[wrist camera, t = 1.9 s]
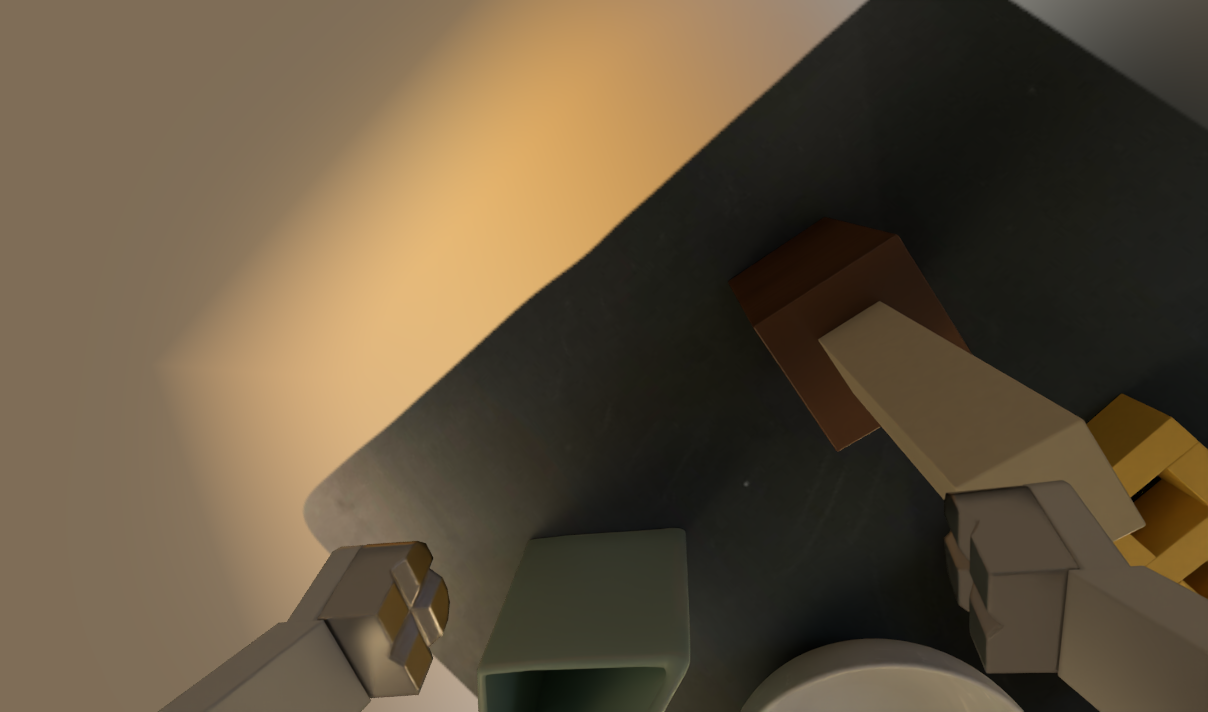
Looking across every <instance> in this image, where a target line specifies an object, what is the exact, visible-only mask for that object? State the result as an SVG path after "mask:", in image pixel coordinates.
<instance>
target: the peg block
mask: <svg viewBox="0 0 1208 712" xmlns="http://www.w3.org/2000/svg"><path fill="white" fill-rule="evenodd" d="M1086 425H1087V427H1088V428H1089V430H1090V432H1091V433H1092V435H1093V437H1094V438H1095V440H1096V442H1097V443H1098V445H1099V447H1100V448H1101V450H1102V452H1103V453H1104V455H1105V456H1106V458H1107V460H1108V461H1109V463H1110V465H1111V466H1112V468H1113V470H1114V471H1115V473H1116V475H1117V476H1118V478H1119V480H1120V481H1121V483H1122V485H1123V486H1124V488H1125V490H1126V491H1127V493H1128V495H1129V496H1130V497H1132V496H1133V495H1134V494H1135V493H1137V492H1138V491H1139V490H1140V489H1141V488H1143V487H1144V486H1145V485H1146V484H1147V483H1149V482H1150V481H1151V480H1152V479H1153V478H1155V477H1156V476H1157V475H1158V476H1159V477H1160V478H1161V480H1160V481H1159V482H1158V483H1156V484H1155V485H1154V486H1153V487H1152V488H1150V489H1149V490H1148V491H1147V492H1146V493H1144V494H1143V495H1142V496H1141V497H1139V498H1138V499H1137V500H1136V501H1135V502H1133V503H1134V505H1135V506H1136V508H1137V510H1138V511H1139V513H1140V515H1141V516H1142V518H1143V520H1144V521H1145V523H1146V525H1145V526H1144V527H1142V528H1140V529H1138V530H1136V531H1134V532H1132V533H1130V534H1128V535H1126V536H1124V537H1122V538H1120V539H1118V540H1116V541H1114V542H1113V543H1114V544H1115V546H1116V547H1117V548H1118V550H1119V551H1120V553H1121V554H1122V555H1123V557H1124V558H1125V559H1126V561H1127V562H1128V563H1129V565H1130V566H1145V567H1147V568H1149V569H1151V570H1153V571H1155V572H1157V573H1159V574H1161V575H1163V576H1164V577H1166V578H1168V579H1170V580H1172V581H1174V582H1176V583H1178V584H1180V585H1182V586H1184V587H1186V588H1187V589H1189V590H1191V591H1193V592H1195V593H1197V594H1199V595H1201V596H1203V597H1205V598H1207V599H1208V449H1207V448H1205V447H1204V446H1203V445H1202V444H1201V443H1200V442H1199V441H1198V440H1197V439H1196V438H1195V437H1193V436H1192V435H1191V434H1190V433H1189V432H1188V431H1187V430H1186V429H1185V428H1183V427H1182V426H1181V425H1180V424H1179V423H1178V422H1177V421H1176V420H1175V419H1173V418H1172V417H1170V416H1168V415H1166V414H1164V413H1162V412H1160V411H1158V410H1156V409H1154V408H1152V407H1149V406H1147V405H1145V404H1143V403H1141V402H1139V401H1137V400H1135V399H1133V398H1130V397H1128V396H1126V395H1124V394H1120V395H1119V396H1118V397H1117V398H1116V399H1114V400H1113V401H1112V402H1111V403H1110V404H1109V405H1108V406H1106V407H1105V408H1104V409H1103V410H1102V411H1101V412H1100V413H1098V414H1097V415H1096V416H1095V417H1094V418H1093V419H1092V420H1090V421H1089V422H1088V423H1087V424H1086Z"/></svg>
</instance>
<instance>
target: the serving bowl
mask: <svg viewBox="0 0 1208 712" xmlns="http://www.w3.org/2000/svg"><path fill="white" fill-rule="evenodd" d="M740 712H1024V711H1023V710H1022V709H1021V708H1020V707H1019V706H1018V704H1017V703H1016V702H1015V701H1014V700H1013V699H1012V698H1011V697H1010V696H1009V695H1008V694H1007V693H1005V692H1004V691H1003V690H1002V689H1001V688H1000V687H999V686H998V685H997V684H995V683H994V682H993V681H992V680H990V679H989V678H988V677H987V676H985V675H984V674H982V673H981V672H979V671H978V670H976V669H975V668H973V667H972V666H970V665H968V664H966V663H965V662H963V661H961V660H959V659H957V658H955V657H953V656H951V655H949V654H947V653H944V652H942V651H939V650H936V649H933V648H931V647H927V646H924V645H920V644H916V643H911V642H907V641H900V640H892V639H856V640H848V641H842V642H837V643H833V644H828V645H825V646H822V647H819V648H816V649H813V650H810V651H808V652H806V653H803V654H801V655H799V656H797V657H795V658H794V659H792V660H790V661H789V662H787V663H785V664H784V665H782V666H781V667H780V668H778V669H777V670H776V671H774V672H773V673H772V674H771V675H769V676H768V677H767V678H766V679H765V680H764V681H763V682H762V683H761V684H760V685H759V686H758V687H757V688H756V690H755V691H754V692H753V693H752V694H751V696H750V697H749V698H748V700H747V701H746V703H745V704H744V706H743V707H742V709H741V711H740Z"/></svg>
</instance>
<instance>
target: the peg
mask: <svg viewBox="0 0 1208 712" xmlns="http://www.w3.org/2000/svg"><path fill="white" fill-rule="evenodd" d="M818 341H819V342H820V344H821V345H822V347H823V348H824V350H825V351H826V353H827V354H828V356H829V357H830V359H831V360H832V362H833V363H834V365H835V366H836V368H837V369H838V371H839V372H840V374H841V375H842V377H843V378H844V380H845V381H846V383H847V384H848V386H849V388H850V389H851V391H852V392H853V394H854V395H855V396H856V397H857V398H858V399H859V401H860V402H861V403H862V404H863V405H864V406H865V408H866V409H867V410H868V411H869V412H870V414H871V415H872V416H873V417H874V418H875V419H876V421H877V422H878V423H879V424H880V425H881V426H882V428H883V429H884V430H885V431H886V432H887V433H888V435H889V436H890V437H891V438H892V439H893V441H894V442H895V443H896V444H897V445H898V446H899V448H900V449H901V450H902V451H903V452H904V453H905V455H906V456H907V457H908V458H909V459H910V461H911V462H912V463H913V464H914V465H915V466H916V468H917V469H918V470H919V471H920V472H921V473H922V475H923V476H924V477H925V478H926V479H927V480H928V482H929V483H930V484H931V485H932V486H933V488H934V489H935V490H936V491H937V492H938V493H939V495H940V496H941V497H942V498H943V499H945V495H946V493H947V492H958V491H968V490H978V489H988V488H998V487H1008V486H1019V485H1020V486H1023V484H1031V483H1040V482H1050V481H1059V480H1064V481H1066V482H1067V483H1069V484H1071V486H1072V487H1073V488H1074V490H1075V491H1076V492H1077V494H1078V495H1079V497H1080V498H1081V499H1082V501H1083V502H1084V503H1085V505H1086V506H1087V507H1088V509H1089V510H1090V512H1091V513H1092V514H1093V516H1094V517H1095V518H1096V520H1097V521H1098V522H1099V524H1100V525H1101V527H1102V528H1103V529H1104V531H1105V532H1106V533H1107V535H1108V536H1109V537H1110V539H1111V540H1112V542H1114V541H1116V540H1118V539H1120V538H1122V537H1124V536H1126V535H1128V534H1130V533H1132V532H1134V531H1136V530H1138V529H1140V528H1142V527H1144V526H1145V525H1146V523H1145V521H1144V520H1143V518H1142V516H1141V515H1140V513H1139V511H1138V510H1137V508H1136V506H1135V505H1134V503H1133V501H1132V500H1131V498H1130V496H1129V495H1128V493H1127V491H1126V490H1125V488H1124V486H1123V485H1122V483H1121V481H1120V480H1119V478H1118V476H1117V475H1116V473H1115V471H1114V470H1113V468H1112V466H1111V465H1110V463H1109V461H1108V460H1107V458H1106V456H1105V455H1104V453H1103V452H1102V450H1101V448H1100V447H1099V445H1098V443H1097V442H1096V440H1095V438H1094V437H1093V435H1092V433H1091V432H1090V430H1089V428H1088V427H1087V425H1086V423H1085V422H1084V420H1083V419H1081V418H1080V417H1078V416H1076V415H1074V414H1073V413H1071V412H1069V411H1068V410H1066V409H1064V408H1062V407H1061V406H1059V405H1057V404H1056V403H1054V402H1052V401H1050V400H1049V399H1047V398H1045V397H1044V396H1042V395H1040V394H1038V393H1037V392H1035V391H1033V390H1032V389H1030V388H1028V387H1026V386H1025V385H1023V384H1021V383H1020V382H1018V381H1016V380H1014V379H1013V378H1011V377H1009V376H1007V375H1006V374H1004V373H1002V372H1001V371H999V370H997V369H995V368H994V367H992V366H990V365H989V364H987V363H985V362H983V361H982V360H980V359H978V358H977V357H975V356H973V355H971V354H970V353H968V352H966V351H965V350H963V349H961V348H959V347H958V346H956V345H954V344H953V343H951V342H949V341H947V340H946V339H944V338H942V337H941V336H939V335H937V334H935V333H934V332H932V331H930V330H929V329H927V328H925V327H923V326H922V325H920V324H918V323H917V322H915V321H913V320H911V319H910V318H908V317H906V316H905V315H903V314H901V313H899V312H898V311H896V310H894V309H893V308H891V307H889V306H887V305H886V304H884V303H882V302H881V301H878V302H877V303H875V304H874V305H872V306H870V307H869V308H867V309H866V310H864V311H862V312H861V313H859V314H858V315H856V316H854V317H853V318H851V319H850V320H848V321H846V322H845V323H843V324H842V325H840V326H838V327H837V328H835V329H834V330H832V331H830V332H829V333H827V334H826V335H824V336H822V337H821V338H819V339H818Z"/></svg>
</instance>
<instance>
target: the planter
mask: <svg viewBox="0 0 1208 712" xmlns="http://www.w3.org/2000/svg"><path fill="white" fill-rule="evenodd" d="M689 664H690V627H689V602H688V576H687V552H686V532H685V530H683V529H680V528H666V529H654V530H641V531H627V532H611V533H595V534H580V535H566V536H557V537H549V538H540V539H532V540H530V541H528V543H527V545H526V548H525V551H524V553H523V556H522V558H521V561H520V564H519V566H518V569H517V571H516V574H515V576H514V579H513V581H512V584H511V586H510V589H509V591H508V594H507V596H506V599H505V601H504V604H503V606H502V608H501V611H500V613H499V616H498V618H497V621H496V623H495V626H494V628H493V630H492V633H491V635H490V638H489V640H488V643H487V645H486V648H485V650H484V653H483V655H482V658H481V661H480V663H479V666H478V668H477V683H478V709H479V710H478V711H479V712H664V711H665V709H666V708H667V706H668V704H669V702H670V700H671V699H672V697H673V695H674V693H675V691H676V690H677V688H678V686H679V685H680V683H681V681H682V679H683V677H684V676H685V674H686V672H687V670H688V667H689Z"/></svg>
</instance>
